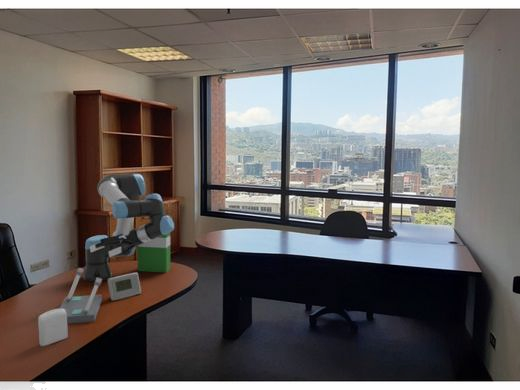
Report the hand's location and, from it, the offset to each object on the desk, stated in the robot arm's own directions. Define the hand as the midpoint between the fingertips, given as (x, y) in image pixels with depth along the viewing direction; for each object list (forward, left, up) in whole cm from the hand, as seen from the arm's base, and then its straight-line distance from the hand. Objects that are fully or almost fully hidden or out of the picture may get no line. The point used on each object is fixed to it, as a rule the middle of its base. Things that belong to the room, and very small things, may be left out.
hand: (100, 252), depth 188 cm
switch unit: (+8, -5, -27) cm, 28 cm away
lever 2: (+11, +3, -24) cm, 26 cm away
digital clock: (-16, -1, -27) cm, 31 cm away
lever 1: (+6, -15, -24) cm, 29 cm away
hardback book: (-57, -17, -27) cm, 66 cm away
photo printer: (+32, +9, -27) cm, 43 cm away
